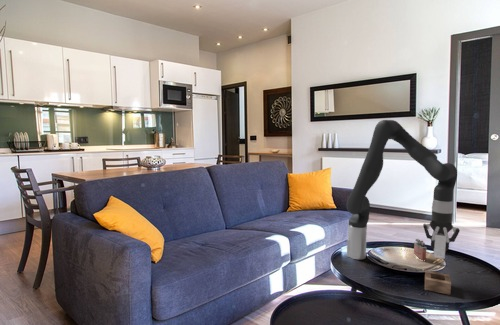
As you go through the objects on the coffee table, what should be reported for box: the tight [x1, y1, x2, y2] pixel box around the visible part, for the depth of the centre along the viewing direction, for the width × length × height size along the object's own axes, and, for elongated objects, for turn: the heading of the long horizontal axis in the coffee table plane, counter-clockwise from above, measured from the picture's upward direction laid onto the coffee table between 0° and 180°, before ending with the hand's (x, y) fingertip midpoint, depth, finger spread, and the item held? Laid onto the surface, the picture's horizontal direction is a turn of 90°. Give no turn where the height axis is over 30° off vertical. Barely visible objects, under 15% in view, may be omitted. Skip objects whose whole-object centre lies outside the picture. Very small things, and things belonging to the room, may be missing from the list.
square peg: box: [433, 234, 446, 260], centre depth 139 cm, size 4×4×10 cm
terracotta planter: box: [413, 238, 428, 261], centre depth 171 cm, size 8×3×10 cm, turn 9°
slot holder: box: [424, 269, 452, 296], centre depth 142 cm, size 9×9×5 cm
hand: (439, 248), depth 140 cm, fingers closed on square peg, 4 cm apart
